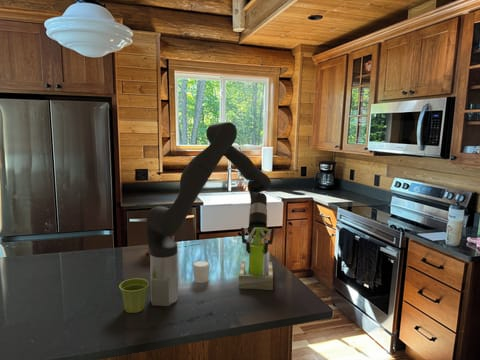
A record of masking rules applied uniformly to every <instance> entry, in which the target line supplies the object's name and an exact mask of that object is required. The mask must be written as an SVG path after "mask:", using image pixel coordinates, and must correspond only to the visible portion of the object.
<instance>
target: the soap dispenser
mask: <svg viewBox="0 0 480 360" xmlns="http://www.w3.org/2000/svg"><path fill="white" fill-rule="evenodd" d="M267 228H268V227H267ZM267 228H263V227H255V228H254V229H255V230H256V235H254V236H253V239H252V241H251V242H250V252H249V253H248V270H247V275H264V260H265V254H264V242H263V240H262V236H261V235H260V230H264V231H268V229H269V228H268V229H267Z"/></svg>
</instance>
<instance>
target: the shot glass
mask: <svg viewBox="0 0 480 360" xmlns="http://www.w3.org/2000/svg"><path fill="white" fill-rule="evenodd" d="M210 264H211V263H210V262H209V261H208V260H197V261H193V263H192V270H193V271H192V272H193V280H194V283H198V284H204V283H207V282H208V281H209V277H210V275H209V274H210Z"/></svg>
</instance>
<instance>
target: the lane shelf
mask: <svg viewBox="0 0 480 360" xmlns="http://www.w3.org/2000/svg"><path fill="white" fill-rule="evenodd" d="M267 262H268V264H267V266H268V267H267V273H268V274H267V275H266V274H263V275H248V273H247V274H245V272H246V260H241V264H240V270H239V274H238V289H247V290H249V289H251V290H266V291H267V290H268V291H269V290H270V291H271V290H272V291H273V289H274V273H273V272H274V271H273V262H272V261H267Z"/></svg>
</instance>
